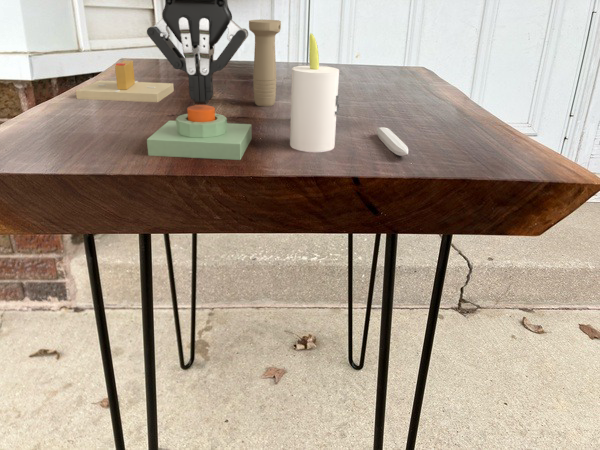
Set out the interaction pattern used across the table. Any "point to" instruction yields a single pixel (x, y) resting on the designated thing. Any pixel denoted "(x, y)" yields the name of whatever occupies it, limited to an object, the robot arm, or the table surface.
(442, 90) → the table surface
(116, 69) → the thumbturn
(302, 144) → the candle
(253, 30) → the handle
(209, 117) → the bell button
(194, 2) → the robot arm
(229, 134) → the green button mount
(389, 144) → the white faceted rod
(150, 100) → the plate
